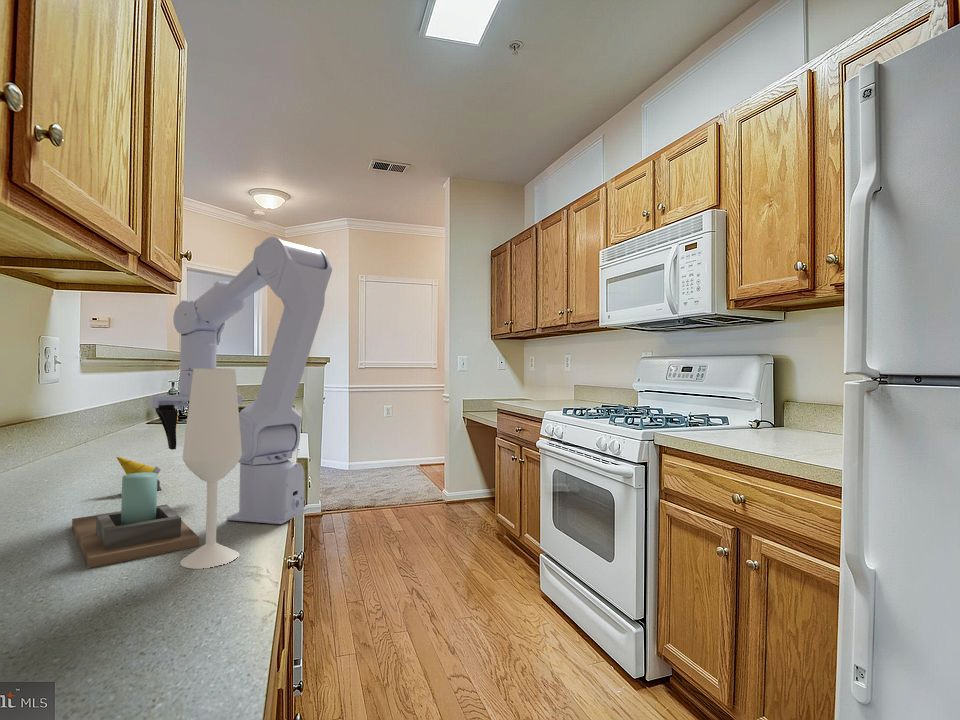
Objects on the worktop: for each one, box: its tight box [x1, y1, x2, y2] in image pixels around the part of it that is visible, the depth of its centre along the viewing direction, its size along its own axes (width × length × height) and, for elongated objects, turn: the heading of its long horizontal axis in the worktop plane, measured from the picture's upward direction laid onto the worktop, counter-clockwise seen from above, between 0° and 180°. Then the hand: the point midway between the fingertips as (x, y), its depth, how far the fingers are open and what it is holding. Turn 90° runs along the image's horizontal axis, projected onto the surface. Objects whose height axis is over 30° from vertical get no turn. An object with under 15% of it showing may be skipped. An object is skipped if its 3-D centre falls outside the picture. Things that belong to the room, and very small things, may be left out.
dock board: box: [71, 504, 200, 569], centre depth 74 cm, size 20×12×4 cm, turn 42°
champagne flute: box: [180, 367, 242, 570], centre depth 67 cm, size 7×7×24 cm
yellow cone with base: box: [116, 456, 163, 491], centre depth 98 cm, size 5×5×10 cm
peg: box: [120, 472, 158, 525], centre depth 71 cm, size 4×4×8 cm
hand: (196, 446), depth 94 cm, fingers open, 7 cm apart
